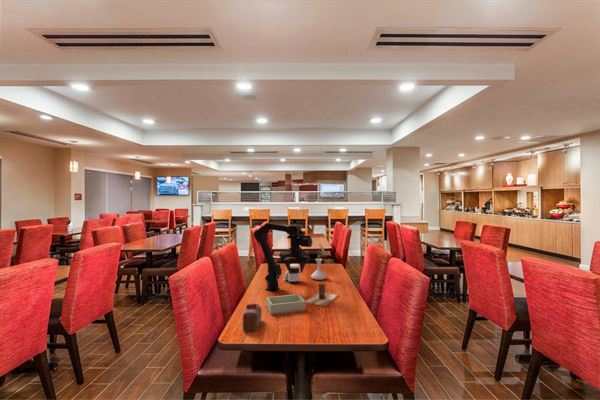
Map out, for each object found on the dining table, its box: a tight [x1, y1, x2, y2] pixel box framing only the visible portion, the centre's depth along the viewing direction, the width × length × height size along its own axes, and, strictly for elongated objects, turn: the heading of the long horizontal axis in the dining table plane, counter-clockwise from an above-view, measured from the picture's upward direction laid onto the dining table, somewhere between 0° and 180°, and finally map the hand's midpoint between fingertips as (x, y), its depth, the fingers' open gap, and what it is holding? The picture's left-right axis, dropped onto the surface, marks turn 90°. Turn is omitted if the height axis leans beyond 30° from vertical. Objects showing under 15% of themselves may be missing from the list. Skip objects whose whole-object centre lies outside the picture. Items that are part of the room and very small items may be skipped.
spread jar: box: [283, 263, 301, 284], centre depth 211 cm, size 12×11×12 cm
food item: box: [242, 302, 263, 333], centre depth 141 cm, size 14×8×10 cm, turn 3°
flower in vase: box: [310, 242, 328, 281], centre depth 219 cm, size 13×11×25 cm
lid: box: [305, 283, 339, 307], centre depth 176 cm, size 13×19×9 cm
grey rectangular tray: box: [265, 293, 306, 316], centre depth 161 cm, size 12×18×5 cm, turn 107°
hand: (295, 271), depth 186 cm, fingers open, 9 cm apart
